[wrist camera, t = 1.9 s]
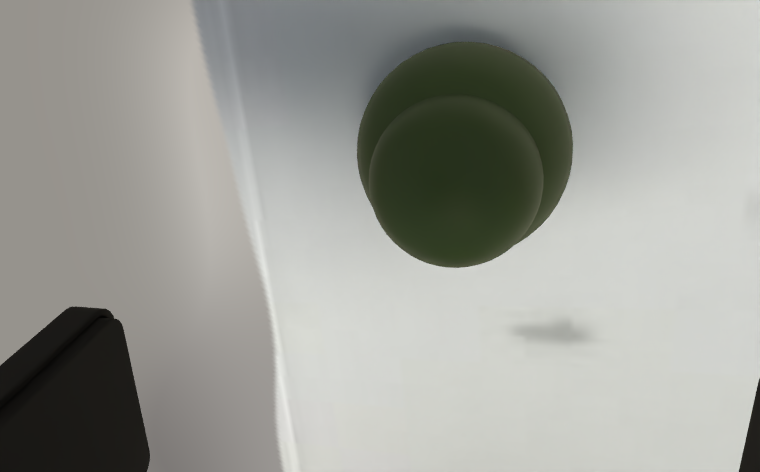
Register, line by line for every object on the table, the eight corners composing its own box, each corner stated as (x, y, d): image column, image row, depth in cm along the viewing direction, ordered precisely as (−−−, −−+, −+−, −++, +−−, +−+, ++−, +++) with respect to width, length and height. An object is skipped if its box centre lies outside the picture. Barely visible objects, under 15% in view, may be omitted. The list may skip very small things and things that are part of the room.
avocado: (345, 95, 24) (267, 182, 17) (497, -20, 21) (478, 27, 15) (450, 233, 25) (418, 365, 18) (605, 141, 23) (634, 252, 16)
